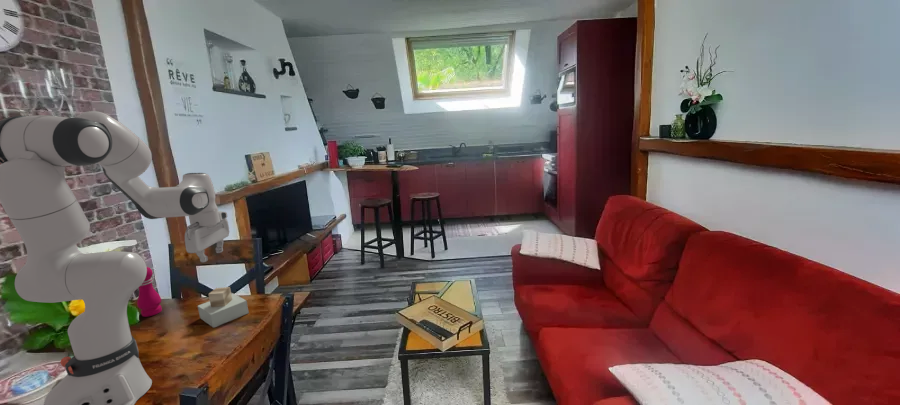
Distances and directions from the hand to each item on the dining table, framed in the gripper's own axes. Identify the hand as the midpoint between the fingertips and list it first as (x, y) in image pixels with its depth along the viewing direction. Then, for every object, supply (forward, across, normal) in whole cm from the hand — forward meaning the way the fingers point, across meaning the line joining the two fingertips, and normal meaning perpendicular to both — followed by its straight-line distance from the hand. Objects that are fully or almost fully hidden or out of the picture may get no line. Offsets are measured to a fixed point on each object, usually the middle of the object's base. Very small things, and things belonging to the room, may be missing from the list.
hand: (212, 256), depth 136 cm
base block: (+23, 0, 0) cm, 23 cm away
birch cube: (+18, 0, 0) cm, 18 cm away
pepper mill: (+23, +7, +31) cm, 39 cm away
